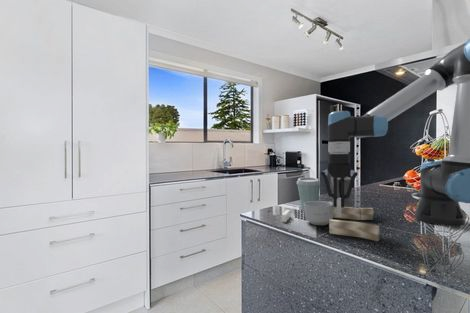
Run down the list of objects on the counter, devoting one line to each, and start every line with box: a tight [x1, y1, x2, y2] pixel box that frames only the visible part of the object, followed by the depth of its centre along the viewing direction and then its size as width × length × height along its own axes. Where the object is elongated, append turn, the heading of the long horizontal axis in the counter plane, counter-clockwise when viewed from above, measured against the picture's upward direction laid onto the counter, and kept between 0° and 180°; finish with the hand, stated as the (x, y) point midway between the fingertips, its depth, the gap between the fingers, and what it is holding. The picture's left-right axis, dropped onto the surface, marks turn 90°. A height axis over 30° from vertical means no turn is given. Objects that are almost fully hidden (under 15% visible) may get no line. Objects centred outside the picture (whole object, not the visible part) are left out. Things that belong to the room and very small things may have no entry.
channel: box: [328, 206, 380, 242], centre depth 93 cm, size 15×26×4 cm, turn 155°
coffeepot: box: [330, 176, 353, 207], centre depth 114 cm, size 15×9×18 cm, turn 153°
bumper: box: [281, 209, 291, 223], centre depth 103 cm, size 2×8×3 cm, turn 155°
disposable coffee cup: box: [295, 176, 321, 213], centre depth 116 cm, size 11×11×15 cm
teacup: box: [304, 200, 335, 226], centre depth 98 cm, size 14×11×8 cm
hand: (338, 215), depth 95 cm, fingers closed
